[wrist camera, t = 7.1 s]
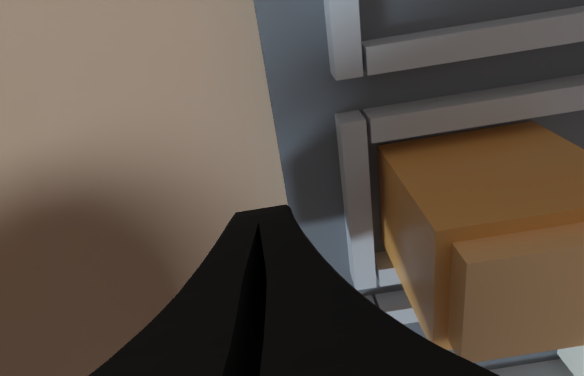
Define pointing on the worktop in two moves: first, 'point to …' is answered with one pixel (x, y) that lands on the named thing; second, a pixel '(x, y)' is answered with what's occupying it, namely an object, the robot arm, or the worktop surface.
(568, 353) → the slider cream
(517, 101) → the panel
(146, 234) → the worktop surface
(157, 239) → the worktop surface
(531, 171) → the slider orange
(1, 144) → the worktop surface
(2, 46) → the worktop surface
